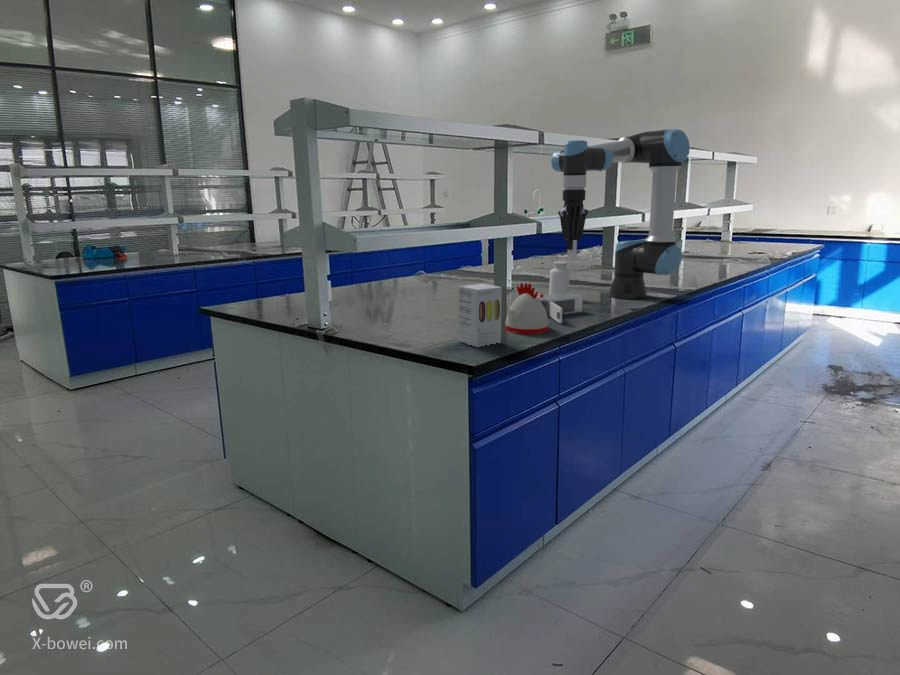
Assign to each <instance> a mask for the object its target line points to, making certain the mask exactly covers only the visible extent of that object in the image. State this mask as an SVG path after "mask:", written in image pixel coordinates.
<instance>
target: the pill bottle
mask: <svg viewBox="0 0 900 675" xmlns="http://www.w3.org/2000/svg"><path fill="white" fill-rule="evenodd" d="M570 278H571V272H570V269H568V262H566V261H554V262H553V268H552V269H550V272H549V287H548V288H549V289H548V291H549V292H548V294H552V293H561V292H567V293H570Z"/></svg>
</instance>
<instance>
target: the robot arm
mask: <svg viewBox="0 0 900 675" xmlns="http://www.w3.org/2000/svg"><path fill="white" fill-rule="evenodd" d="M690 148H691V146H690V141H689V138H688V136H687V135H686V133H685V132H684V131H683V130H681V129H675V128H674V129H672V128H669V129H662V130H661V129H660V130H654V131H653V130H651V131H644V132H640V133H636V134H633V135H629V136H623V137H621V138H619V139H618V140H617V141H612V142H606V143H600V144H595V145H588V141H586V140H581V139H579V140H567V141H566V142H565V143H564V149H561V150H556V151H555V152H554V153H553V154H552V155H551V159H550V162H551V167H552V169H553V170H554V171H555V172H559V173H563V175H562V176H563V181H562V182H563V183H562V184H563V185H562V188H563V191H562V201H563V202H564V204H563V208H562V209H561V210H560V209H559V210H558V211H557V212H558V213H557V214H558V216H559V220H560V226H561V234H562V238H563V239H564V240H565V241H567V242H566V250H567V254H566V255H567V256H566V257H567V260H572V261H575V260H577V250H578V241H580V240H581V239H582V238H583V235H584V229H585V223H586V219H587V215H588V213H589V209H585V207H584V203H583V202H584V201H586V189H585V188H586V187H587V172H590V171H591V172H593V171H595V172H596V171H597V172H602V171H607V170H609V168H610V167H611V166H612V164H615V163H621V164H628V163H633V164H634V163H636V164H648V168H649V169H650V170H651V172H652V180H651V197H650V210H649V211H650V212H649V213H650V214H649V226H648V236H647V237H646V238H645V239H636V240H635V239H634V240H623V241H618V242H617V243H616V245H615V250H614V253H615V254H614V256H615V257H614V270H613V271H614V272H613V273H614V274H613V279H612V283H611V286H610V288H609V291H608V296H609V297H611V298H614V299H621V300H622V299H623V300H638V299H639V300H640V299H646V298H647V297H648V296H647V295H648V294H647V293H648V292H647V289H646V283H645V280H644V275H645V274H651V275H657V276H669V275H670V276H671V275H672V274H673V273H675V272H676V270H677V269H678V268H679V266H680V264H681V262H682V254H683V253H682V250H681V248H680V247H679V246H678V245H676V244H677V239H675V237H673V229H674V214H675V203H676V202H675V200H676V187H677V186H676V185H677V173H678V171H680V169H681V168H682V165H683V163H682V162H684V161H686V160H687V159H688V156H689V155H690Z"/></svg>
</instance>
